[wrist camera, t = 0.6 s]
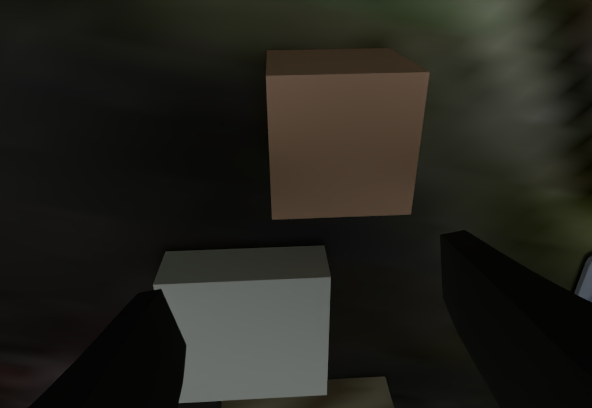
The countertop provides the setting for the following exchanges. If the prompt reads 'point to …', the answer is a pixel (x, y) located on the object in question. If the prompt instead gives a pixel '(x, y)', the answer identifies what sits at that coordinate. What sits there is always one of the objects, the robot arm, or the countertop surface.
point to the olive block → (330, 396)
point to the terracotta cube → (343, 131)
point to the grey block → (250, 320)
